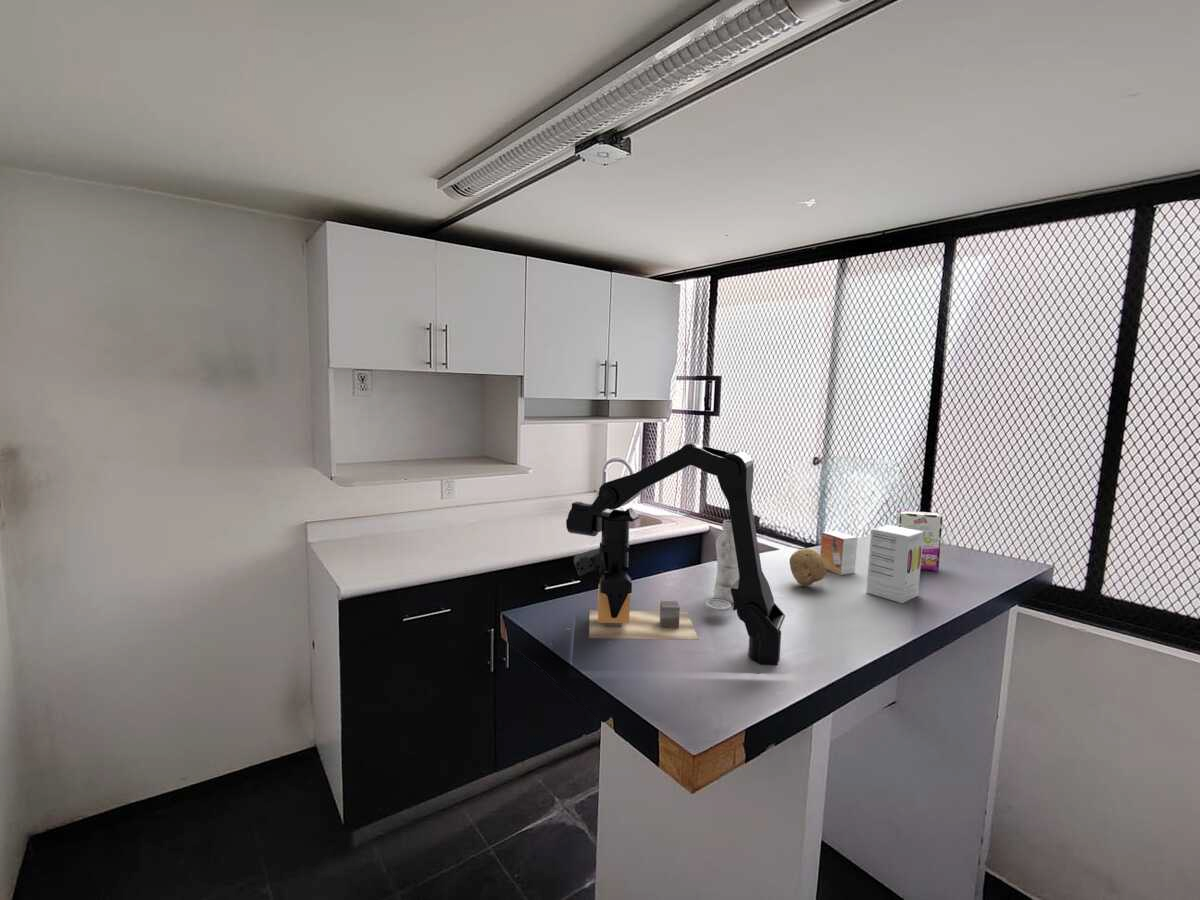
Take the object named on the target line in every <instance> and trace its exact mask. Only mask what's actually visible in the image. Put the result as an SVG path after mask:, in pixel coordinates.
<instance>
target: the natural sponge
mask: <svg viewBox="0 0 1200 900" xmlns="http://www.w3.org/2000/svg"><path fill="white" fill-rule="evenodd" d="M789 567H790V570H791V573H792V576H793V578H794V580H796V582H797V583H798V584H799V585H800V586H801V587H809V586H811V585H813V584H814V583H817V582H820V581H822V580H823V579H824V577H826V574H827V569H826V566H825V564H824V561H823V559H822V557H821V556H820V553H818V552H817V551H815V550H813V549H812V548H803V549H802V548H801V549H798V550H796V551H794V552H793V553H792V554H791V555H790V558H789Z"/></svg>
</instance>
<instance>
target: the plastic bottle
mask: <svg viewBox="0 0 1200 900" xmlns="http://www.w3.org/2000/svg"><path fill="white" fill-rule="evenodd" d="M721 528H722V530H723V531H721V533H720V534H719V535H718V536H717V537H716V540H715V550H716V563H717V566H716V578H715V583H714V587H713V597H714V598H713V599H719V600H724V601H727V602H729V603H730V604H731V605H734V601H733V597H732V594H731V588H732V586H733V585H734V584H735V582H736V581H737V580H739V570H738V563H737V557H736V550H735V544H734V537H733V531H732V524H731V519H725V520H723V521H722V527H721Z"/></svg>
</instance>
